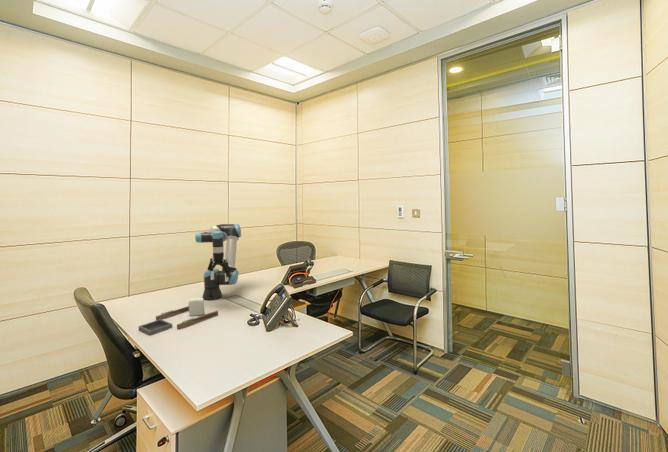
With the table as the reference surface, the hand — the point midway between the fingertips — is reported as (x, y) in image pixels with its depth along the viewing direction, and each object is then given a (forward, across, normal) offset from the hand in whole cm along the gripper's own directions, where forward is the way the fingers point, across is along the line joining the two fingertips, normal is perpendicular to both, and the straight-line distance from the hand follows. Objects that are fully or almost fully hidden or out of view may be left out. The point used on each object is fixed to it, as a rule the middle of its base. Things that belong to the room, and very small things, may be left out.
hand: (219, 280), depth 240 cm
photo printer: (+22, -7, -16) cm, 28 cm away
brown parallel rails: (+21, -8, -23) cm, 32 cm away
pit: (+21, -12, -45) cm, 51 cm away
